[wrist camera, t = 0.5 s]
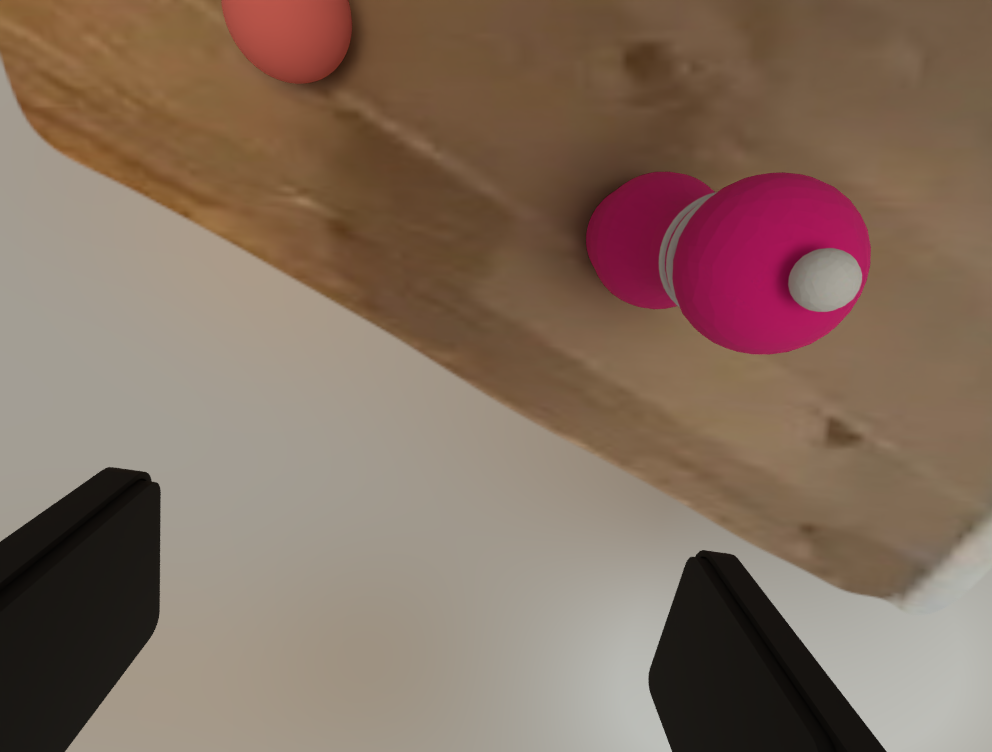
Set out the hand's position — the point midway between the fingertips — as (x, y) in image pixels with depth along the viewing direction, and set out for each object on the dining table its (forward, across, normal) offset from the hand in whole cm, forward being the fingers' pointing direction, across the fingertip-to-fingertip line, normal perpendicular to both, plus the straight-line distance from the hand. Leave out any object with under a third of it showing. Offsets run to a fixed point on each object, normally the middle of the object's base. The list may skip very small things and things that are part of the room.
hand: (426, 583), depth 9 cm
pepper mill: (+26, -10, -7) cm, 29 cm away
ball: (+23, +11, -14) cm, 29 cm away
